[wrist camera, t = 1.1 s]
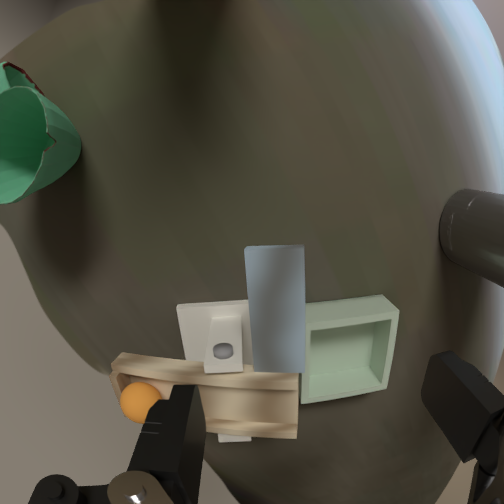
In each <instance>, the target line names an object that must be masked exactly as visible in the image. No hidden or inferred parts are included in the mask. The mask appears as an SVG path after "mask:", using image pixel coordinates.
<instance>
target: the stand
mask: <svg viewBox="0 0 504 504" xmlns="http://www.w3.org/2000/svg"><path fill="white" fill-rule="evenodd" d="M176 309H177V315H178V320H179V326H180V331H181V337H182V342H183V347H184V352H185V357H186V360H188V361H199V362H204V371H205V373H224V372H241V371H243V364H245V365H254V363H253V351H252V339H251V327H250V315H249V303H248V300H236V301H222V302H207V303H190V304H178V305H177V308H176ZM218 439H219V442H240V441H251V436H239V435H229V434H220V433H218Z"/></svg>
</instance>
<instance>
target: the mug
mask: <svg viewBox="0 0 504 504" xmlns="http://www.w3.org/2000/svg"><path fill="white" fill-rule="evenodd" d="M80 151H81V140H80V136H79V134H78V133H77V131H76V129H75V127H74V126H73V124H72V123H71V121H70V120H69V119H68V117H67V116H66V115H65V114H64V113H63V112H62V111H61V110H60V109H59V108H58V107H57V106H56V105H55V104H53V103H52V102H51V101H49V100H48V99H47V98H46V97H45V96H44V94H43V92H42V91H41V90H40V89H39V88H38V87H37V85H36V84H35V83H34V82H33V81H32V79H31V78H30V77H29V76H28V75H27V74H26V72H25V71H24V70H23V69H21V68H19V67H17V66H15V65H13V64H12V63H10V62H3V63H1V64H0V205H1V204H11V203H16V202H18V201H20V200H22V199H23V198H25V197H27V196H28V195H30V194H32V193H34V192H35V191H37V190H39V189H42V188H44V187H46V186H47V185H49V184H51V183H53V182H54V181H56V180H57V179H58V178H60V177H61V176H63V175H64V174H65V173H66V172H67V171H68V170H69V169H70V168H71V167H72V166H73V165H74V164H75V163H76V161H77V160H78V158H79V155H80Z"/></svg>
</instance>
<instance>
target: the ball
mask: <svg viewBox="0 0 504 504" xmlns="http://www.w3.org/2000/svg"><path fill="white" fill-rule="evenodd" d="M158 399H162V397H161V394H160V393H159V391H158V390H157V389H156V388H155V387H154V386H152V385H150V384H148V383H145V382H134V383H131V384H129V385H128V386H127V387H125V389H124V390H123V391H122V393H121V397H120V405H121V409H122V411H123V413H124V414H125V415H126V416H127V417H128V418H129V419H130V420H132V421H134V422H136V423H142V424H144V423H145V419H146V416H147V413H148V410H149V409H150V408H151V407H152V406H153V405H154V404H155V403H156V402H157V400H158Z"/></svg>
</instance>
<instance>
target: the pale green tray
mask: <svg viewBox="0 0 504 504" xmlns="http://www.w3.org/2000/svg"><path fill="white" fill-rule="evenodd" d="M398 318H399V310H398V309H397V308H396V307H395V306H394V305H393V304H392V303H391V302H390V301H388V300H387V299H386V298H385V297H384V296H383V295H382V294H379V295H372V296H364V297H357V298H349V299H340V300H332V301H323V302H313V303H305V373H299V398H300V401H301V404H306V403H313V402H319V401H326V400H332V399H338V398H343V397H349V396H354V395H359V394H364V393H369V392H373V391H378V390H382V389H386V388H387V384H388V379H389V374H390V369H391V363H392V358H393V352H394V346H395V339H396V332H397V325H398Z"/></svg>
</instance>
